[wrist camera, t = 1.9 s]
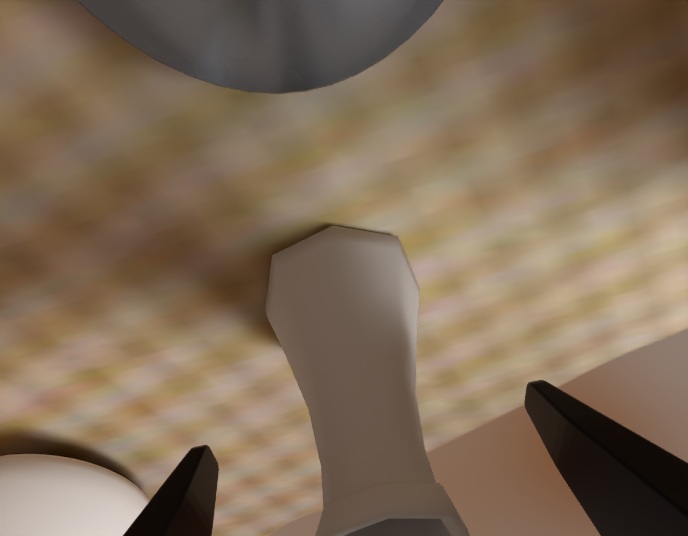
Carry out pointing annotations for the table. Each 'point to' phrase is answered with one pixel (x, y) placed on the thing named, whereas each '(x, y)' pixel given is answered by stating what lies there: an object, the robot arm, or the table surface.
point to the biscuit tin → (265, 37)
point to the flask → (360, 381)
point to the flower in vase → (64, 498)
